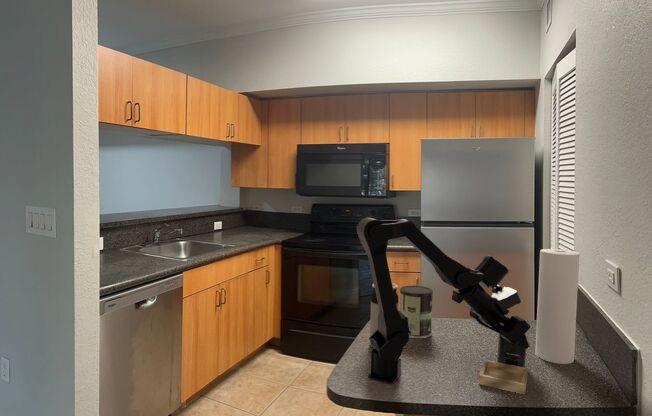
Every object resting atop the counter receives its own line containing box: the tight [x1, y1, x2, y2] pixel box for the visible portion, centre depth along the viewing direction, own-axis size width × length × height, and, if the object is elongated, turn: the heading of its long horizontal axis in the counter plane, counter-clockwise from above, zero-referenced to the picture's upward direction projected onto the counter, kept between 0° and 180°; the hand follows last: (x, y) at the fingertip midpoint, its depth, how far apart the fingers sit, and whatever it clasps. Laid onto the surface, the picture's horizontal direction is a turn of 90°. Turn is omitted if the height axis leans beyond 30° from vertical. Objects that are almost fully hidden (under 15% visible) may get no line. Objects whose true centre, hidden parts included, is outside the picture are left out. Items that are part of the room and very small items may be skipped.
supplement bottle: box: [496, 332, 528, 368], centre depth 108 cm, size 7×7×12 cm
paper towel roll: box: [534, 248, 580, 365], centre depth 114 cm, size 9×9×30 cm
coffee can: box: [399, 285, 434, 339], centre depth 131 cm, size 10×10×14 cm
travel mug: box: [369, 283, 400, 348], centre depth 121 cm, size 8×8×18 cm
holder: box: [478, 359, 528, 396], centre depth 100 cm, size 10×10×2 cm
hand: (516, 340), depth 108 cm, fingers open, 8 cm apart
